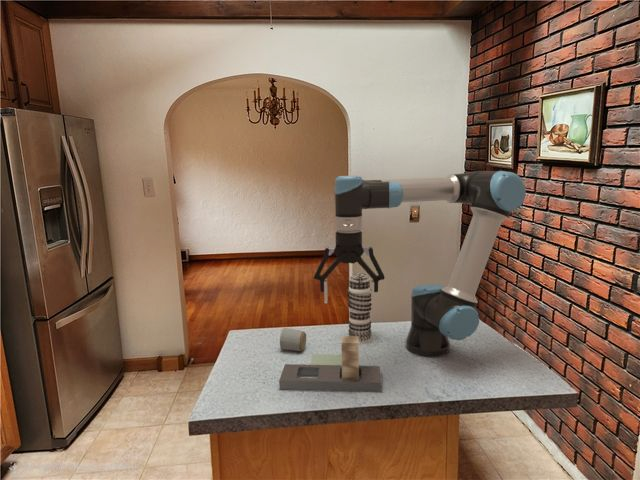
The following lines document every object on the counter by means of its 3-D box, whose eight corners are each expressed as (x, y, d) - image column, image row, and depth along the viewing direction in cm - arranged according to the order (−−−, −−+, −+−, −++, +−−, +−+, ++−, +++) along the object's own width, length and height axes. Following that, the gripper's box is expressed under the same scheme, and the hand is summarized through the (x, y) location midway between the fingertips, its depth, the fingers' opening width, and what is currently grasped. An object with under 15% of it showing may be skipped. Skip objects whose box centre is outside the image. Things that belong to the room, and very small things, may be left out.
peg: (358, 378, 129) (358, 336, 126) (359, 387, 124) (358, 343, 121) (342, 378, 129) (342, 335, 126) (342, 386, 124) (341, 342, 122)
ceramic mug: (301, 355, 145) (301, 334, 144) (279, 353, 147) (278, 332, 146) (309, 342, 155) (309, 323, 154) (289, 341, 157) (288, 321, 156)
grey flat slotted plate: (379, 374, 130) (379, 366, 130) (381, 392, 121) (381, 382, 120) (285, 372, 133) (284, 364, 133) (279, 389, 123) (279, 380, 123)
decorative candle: (347, 333, 162) (346, 271, 158) (371, 333, 162) (371, 271, 157) (347, 343, 153) (346, 278, 149) (373, 343, 153) (372, 278, 148)
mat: (344, 355, 144) (344, 354, 144) (343, 371, 133) (343, 370, 133) (312, 355, 145) (312, 354, 145) (309, 371, 134) (309, 369, 134)
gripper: (303, 233, 115) (305, 306, 119) (394, 232, 113) (393, 307, 117) (306, 228, 123) (308, 297, 126) (392, 228, 120) (391, 298, 124)
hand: (349, 302), depth 122 cm, fingers open, 13 cm apart
